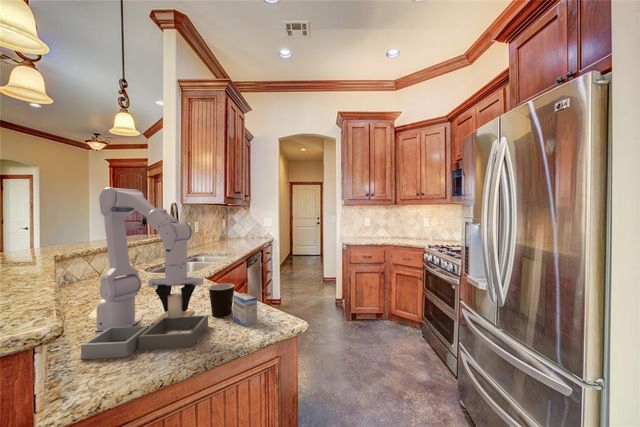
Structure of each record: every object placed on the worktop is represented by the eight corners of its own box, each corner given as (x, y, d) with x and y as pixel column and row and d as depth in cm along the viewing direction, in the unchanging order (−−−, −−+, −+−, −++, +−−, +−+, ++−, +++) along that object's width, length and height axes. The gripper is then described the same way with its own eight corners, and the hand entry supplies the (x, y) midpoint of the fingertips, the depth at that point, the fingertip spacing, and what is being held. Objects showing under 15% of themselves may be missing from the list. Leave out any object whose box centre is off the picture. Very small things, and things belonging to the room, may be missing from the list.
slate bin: (81, 359, 67) (80, 345, 67) (110, 339, 77) (110, 327, 77) (126, 356, 68) (126, 343, 68) (149, 337, 78) (149, 325, 78)
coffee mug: (226, 320, 91) (226, 290, 91) (203, 318, 93) (203, 289, 93) (242, 308, 103) (242, 282, 103) (222, 306, 104) (222, 280, 104)
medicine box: (232, 321, 91) (232, 295, 91) (244, 317, 94) (244, 292, 94) (245, 327, 85) (245, 300, 85) (257, 323, 88) (257, 297, 88)
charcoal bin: (138, 349, 71) (138, 336, 71) (163, 328, 85) (163, 316, 85) (191, 347, 73) (191, 334, 73) (207, 326, 86) (207, 315, 86)
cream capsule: (164, 318, 76) (164, 297, 76) (171, 312, 81) (171, 292, 81) (181, 318, 77) (181, 296, 77) (187, 312, 81) (187, 292, 81)
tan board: (151, 324, 88) (151, 323, 88) (165, 313, 98) (165, 312, 98) (183, 323, 89) (183, 322, 89) (194, 312, 99) (194, 311, 99)
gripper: (142, 267, 74) (142, 316, 74) (197, 266, 76) (197, 314, 76) (155, 262, 81) (155, 307, 81) (205, 261, 83) (205, 306, 83)
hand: (176, 310), depth 79 cm, fingers closed on cream capsule, 4 cm apart
